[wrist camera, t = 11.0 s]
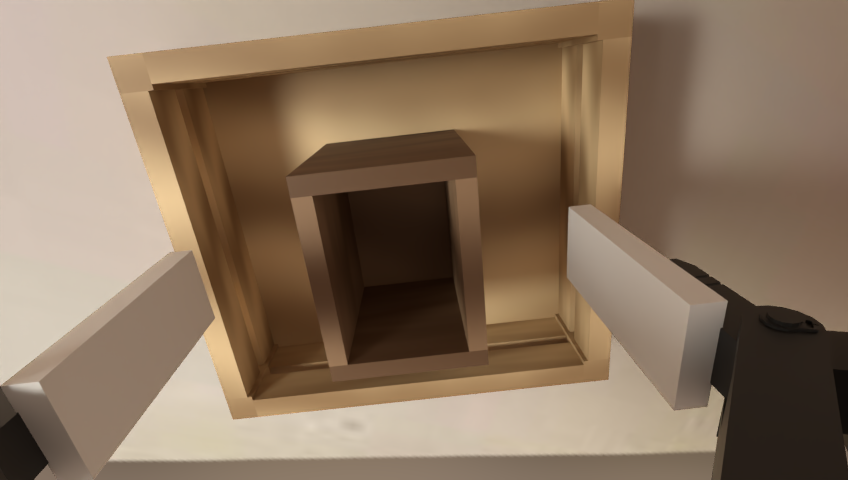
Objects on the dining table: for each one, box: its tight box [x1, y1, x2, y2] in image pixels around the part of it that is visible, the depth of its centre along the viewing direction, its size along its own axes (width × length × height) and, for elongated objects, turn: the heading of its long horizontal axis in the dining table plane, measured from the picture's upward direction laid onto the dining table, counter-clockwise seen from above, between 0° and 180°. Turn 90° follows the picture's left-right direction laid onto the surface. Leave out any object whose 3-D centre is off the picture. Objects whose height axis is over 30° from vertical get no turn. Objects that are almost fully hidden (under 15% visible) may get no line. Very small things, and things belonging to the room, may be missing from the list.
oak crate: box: [107, 0, 634, 419], centre depth 19 cm, size 16×18×5 cm
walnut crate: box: [286, 129, 489, 382], centre depth 18 cm, size 8×6×7 cm
